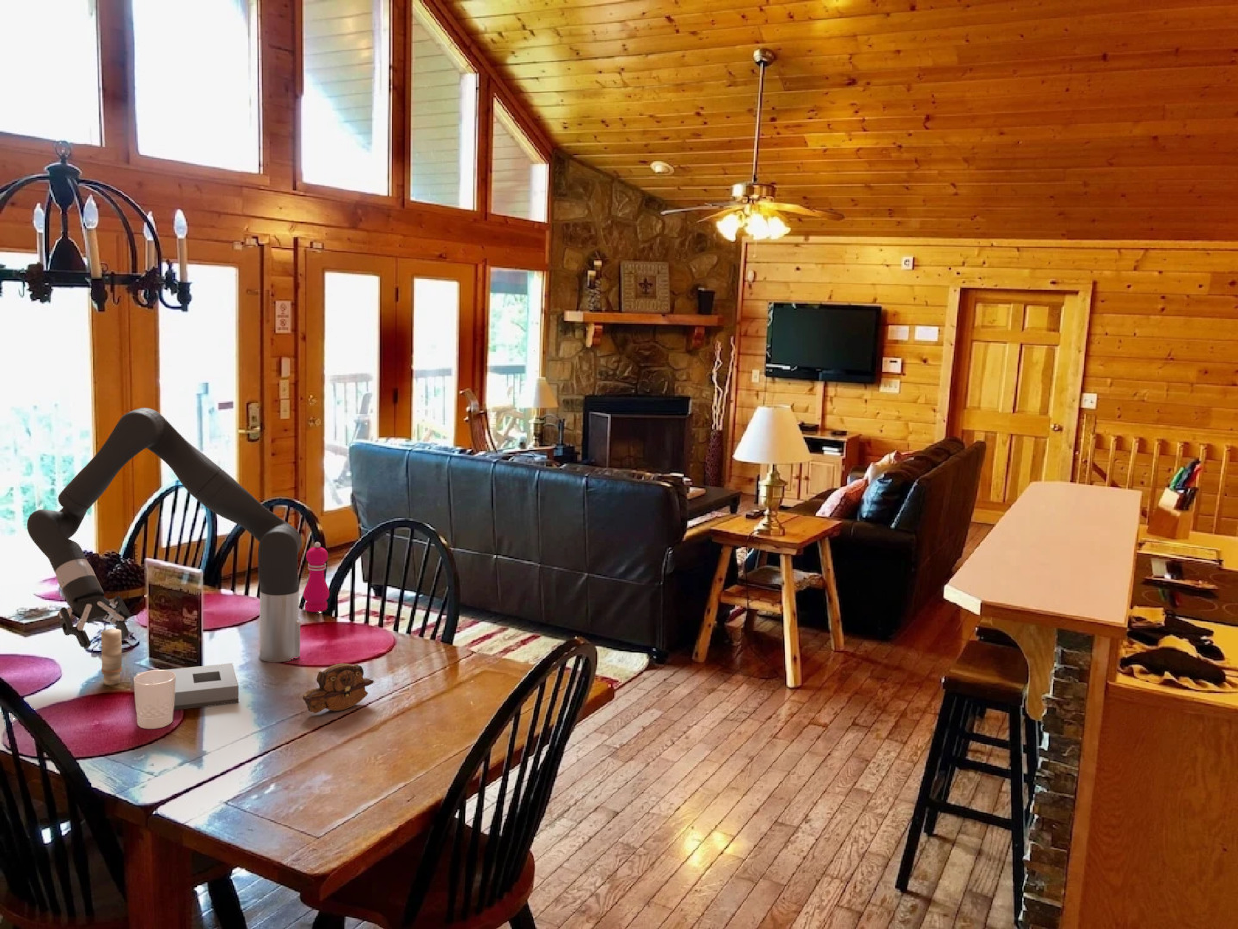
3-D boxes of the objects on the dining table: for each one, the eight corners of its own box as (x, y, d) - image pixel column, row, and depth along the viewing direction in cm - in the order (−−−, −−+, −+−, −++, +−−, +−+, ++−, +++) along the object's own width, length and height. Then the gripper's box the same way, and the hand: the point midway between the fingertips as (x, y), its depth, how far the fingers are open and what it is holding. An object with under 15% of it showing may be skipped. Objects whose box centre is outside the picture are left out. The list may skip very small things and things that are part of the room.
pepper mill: (333, 606, 282) (334, 540, 278) (323, 613, 274) (324, 546, 271) (309, 604, 282) (310, 538, 279) (298, 611, 275) (299, 543, 272)
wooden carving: (312, 723, 205) (313, 678, 204) (300, 716, 208) (301, 672, 207) (376, 702, 218) (377, 660, 216) (364, 696, 221) (365, 655, 219)
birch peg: (122, 677, 221) (121, 628, 220) (122, 684, 218) (121, 634, 216) (101, 679, 220) (101, 629, 218) (101, 686, 216) (100, 635, 214)
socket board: (232, 679, 225) (232, 663, 224) (238, 702, 213) (238, 685, 212) (136, 689, 216) (136, 672, 215) (137, 714, 203) (137, 696, 203)
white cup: (184, 719, 203) (184, 674, 201) (155, 733, 196) (155, 687, 194) (155, 711, 205) (154, 667, 204) (125, 725, 198) (124, 680, 196)
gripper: (52, 580, 215) (81, 641, 211) (115, 568, 227) (143, 626, 222) (41, 598, 219) (69, 658, 214) (103, 585, 230) (130, 642, 226)
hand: (106, 642), depth 218 cm, fingers open, 8 cm apart
